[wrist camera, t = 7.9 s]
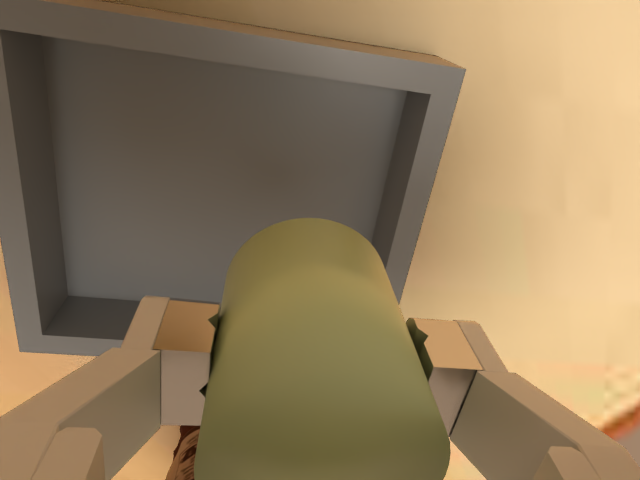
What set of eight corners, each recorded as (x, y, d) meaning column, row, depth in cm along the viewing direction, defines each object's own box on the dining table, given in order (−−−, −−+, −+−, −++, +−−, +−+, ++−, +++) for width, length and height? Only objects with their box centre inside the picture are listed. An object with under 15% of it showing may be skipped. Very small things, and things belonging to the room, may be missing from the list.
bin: (52, 303, 24) (19, 351, 20) (13, -14, 17) (-43, -13, 14) (366, 326, 26) (379, 372, 23) (435, 55, 20) (466, 69, 16)
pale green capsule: (230, 208, 11) (198, 366, 6) (402, 227, 11) (484, 383, 7) (220, 347, 12) (189, 544, 8) (368, 357, 13) (415, 546, 9)
